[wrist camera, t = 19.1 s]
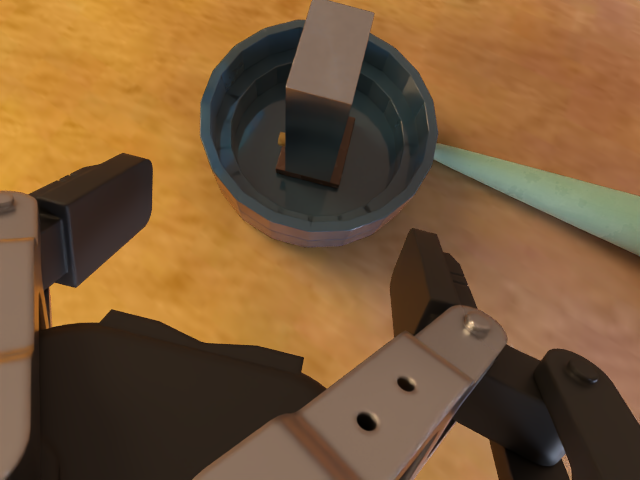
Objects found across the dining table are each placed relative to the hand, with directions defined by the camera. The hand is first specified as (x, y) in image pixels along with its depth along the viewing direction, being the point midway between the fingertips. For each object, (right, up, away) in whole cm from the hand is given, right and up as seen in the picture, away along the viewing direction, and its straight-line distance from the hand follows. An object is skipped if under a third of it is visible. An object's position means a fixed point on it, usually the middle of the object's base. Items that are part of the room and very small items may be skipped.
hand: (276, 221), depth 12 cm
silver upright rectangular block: (+1, +7, +19) cm, 20 cm away
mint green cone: (+22, +2, +21) cm, 30 cm away
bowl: (+1, +7, +20) cm, 21 cm away
